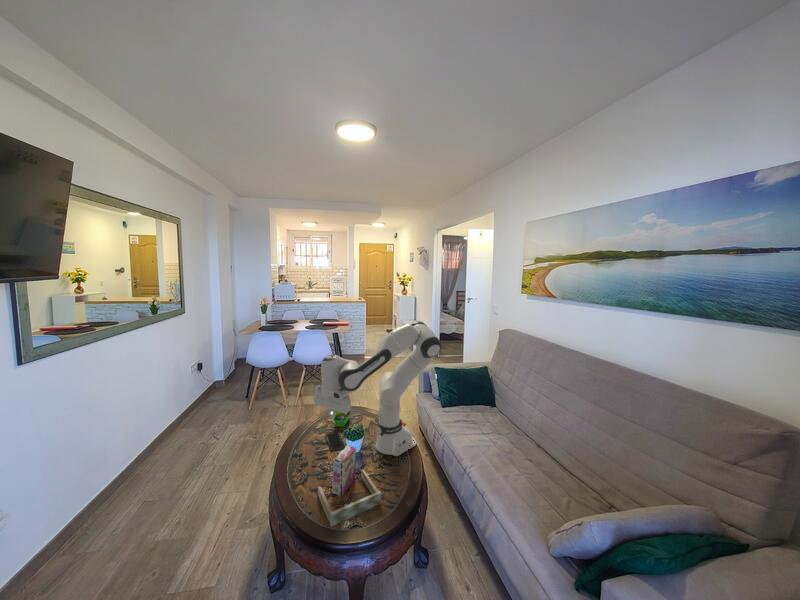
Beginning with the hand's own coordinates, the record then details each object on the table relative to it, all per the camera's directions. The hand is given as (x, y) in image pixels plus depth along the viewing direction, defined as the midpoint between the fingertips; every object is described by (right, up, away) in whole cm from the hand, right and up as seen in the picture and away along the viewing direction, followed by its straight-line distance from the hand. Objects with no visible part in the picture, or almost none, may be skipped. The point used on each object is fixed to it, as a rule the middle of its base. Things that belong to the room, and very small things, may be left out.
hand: (332, 416), depth 142 cm
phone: (-4, -23, +22) cm, 32 cm away
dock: (+11, -28, -16) cm, 34 cm away
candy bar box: (+8, -28, -10) cm, 30 cm away
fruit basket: (-4, -20, +40) cm, 45 cm away
